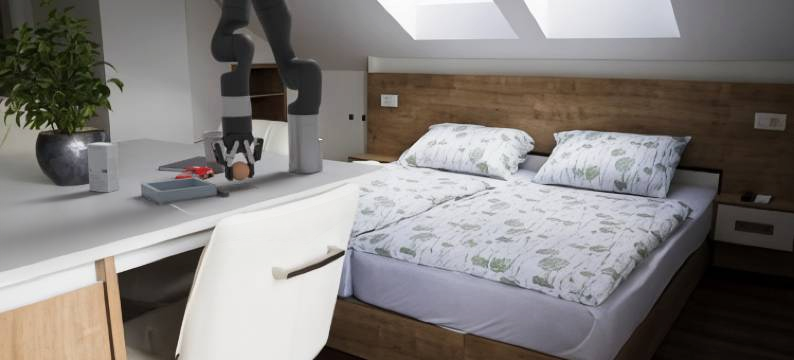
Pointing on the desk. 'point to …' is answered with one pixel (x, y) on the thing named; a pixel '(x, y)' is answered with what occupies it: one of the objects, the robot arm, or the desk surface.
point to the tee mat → (237, 187)
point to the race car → (197, 173)
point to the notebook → (185, 164)
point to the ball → (240, 170)
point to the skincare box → (103, 167)
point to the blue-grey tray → (177, 190)
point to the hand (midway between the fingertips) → (240, 178)
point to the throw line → (222, 192)
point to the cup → (210, 157)
